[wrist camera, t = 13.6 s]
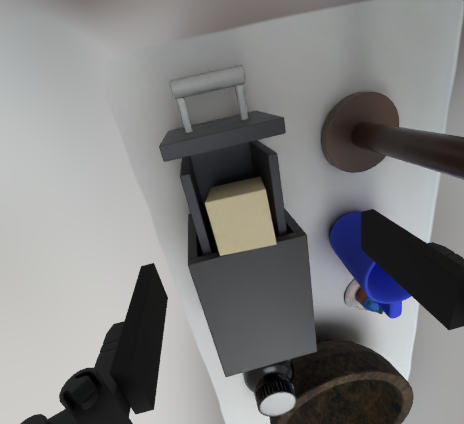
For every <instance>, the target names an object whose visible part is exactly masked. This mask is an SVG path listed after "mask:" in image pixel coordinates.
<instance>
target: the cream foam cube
mask: <svg viewBox="0 0 464 424" xmlns="http://www.w3.org/2000/svg"><path fill="white" fill-rule="evenodd" d="M205 206H206V209H207V213H208V216H209V220H210V223H211V226H212V230H213V233H214V237H215V240H216V244H217V247H218V251H219V254H220V256H222V255H227V254H232V253H237V252H242V251H247V250H252V249H257V248H262V247H267V246H271V245H276V244H277V243H276V238H275V233H274V228H273V223H272V218H271V213H270V208H269V203H268V198H267V193H266V189H265V187H264V184H263V181H262V179H261V177H260V176H259V177H254V178H250V179H246V180H241V181H237V182H233V183H228V184H224V185H220V186H215V187H211V189H210V191H209V194H208V196H207V199H206V201H205Z"/></svg>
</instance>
